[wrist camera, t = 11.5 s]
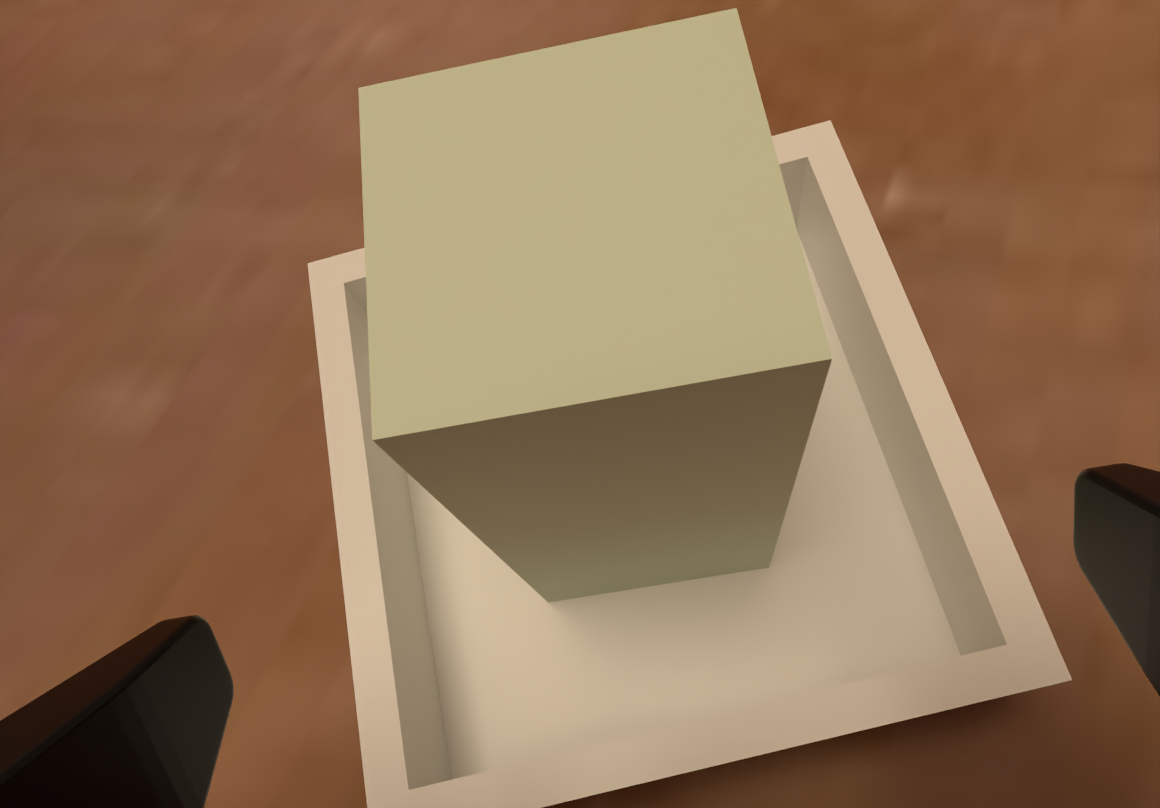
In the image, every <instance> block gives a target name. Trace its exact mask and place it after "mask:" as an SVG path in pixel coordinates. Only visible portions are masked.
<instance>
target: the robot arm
mask: <svg viewBox="0 0 1160 808" xmlns="http://www.w3.org/2000/svg"><path fill="white" fill-rule="evenodd" d="M1074 550H1075V554H1076V558H1077V561H1078V563H1079V566H1080V567H1081V569H1082V571H1083V573H1084V574H1085V576H1086V578H1087V579H1088V581H1089V583H1090V584H1091V586H1092V587H1093V589H1094V591H1095V592H1096V594H1097V596H1098V597H1099V599H1100V601H1101V602H1102V604H1103V606H1104V607H1105V609H1106V610H1107V612H1108V614H1109V615H1110V617H1111V619H1112V620H1113V622H1114V624H1115V625H1116V627H1117V629H1118V630H1119V632H1120V633H1121V635H1122V637H1123V638H1124V640H1125V642H1126V643H1127V645H1128V647H1129V648H1130V650H1131V651H1132V653H1133V655H1134V656H1135V658H1136V660H1137V661H1138V663H1139V665H1140V666H1141V668H1142V670H1143V671H1144V673H1145V674H1146V676H1147V678H1148V679H1149V681H1150V682H1151V684H1152V685H1153V687H1154V688H1155V690H1156V691H1157V693H1158V694H1159V696H1160V472H1159V471H1155V470H1151V469H1147V468H1143V467H1139V466H1135V465H1131V464H1125V463H1122V464H1113V465H1107V466H1101V467H1095V468H1089V469H1086V470H1083V471H1082V472H1081V473H1080V474H1079V475H1078V476H1077V479H1076V482H1075V492H1074ZM233 691H234V690H233V681H232V677H231V673H230V671H229V669H228V666H227V664H226V662H225V659H224V657H223V655H222V652H221V650H220V648H219V645H218V643H217V640H216V638H215V636H214V633H213V631H212V629H211V627H210V625H209V623H208V622H207V621H206V620H205V619H204V618H202V617H200V616H198V615H194V616H186V617H180V618H174V619H168V620H164V621H161V622H159V623H157V624H156V625H154V626H152V627H151V628H149V629H147V630H146V631H144V632H143V633H141V634H139V635H138V636H136V637H135V638H133V639H131V640H130V641H128V642H127V643H125V644H123V645H122V646H120V647H118V648H117V649H115V650H114V651H112V652H110V653H109V654H107V655H106V656H104V657H102V658H101V659H99V660H98V661H96V662H94V663H93V664H91V665H89V666H88V667H86V668H85V669H83V670H81V671H80V672H78V673H77V674H75V675H73V676H72V677H70V678H69V679H67V680H65V681H64V682H62V683H61V684H59V685H57V686H56V687H54V688H52V689H51V690H49V691H48V692H46V693H44V694H43V695H41V696H40V697H38V698H36V699H35V700H33V701H32V702H30V703H28V704H27V705H25V706H23V707H22V708H20V709H19V710H17V711H15V712H14V713H12V714H11V715H9V716H7V717H6V718H4V719H3V720H1V721H0V808H204V807H205V803H206V799H207V795H208V791H209V788H210V784H211V780H212V776H213V773H214V769H215V765H216V761H217V757H218V754H219V750H220V746H221V742H222V739H223V735H224V731H225V727H226V723H227V720H228V716H229V712H230V708H231V705H232V700H233Z"/></svg>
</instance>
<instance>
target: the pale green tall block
mask: <svg viewBox="0 0 1160 808" xmlns="http://www.w3.org/2000/svg"><path fill="white" fill-rule="evenodd" d="M359 114H360V140H361V166H362V191H363V217H364V243H365V269H366V295H367V321H368V347H369V373H370V398H371V424H372V441H374V442H375V443H376V444H377V445H378V446H379V447H380V448H381V449H382V450H383V451H384V452H385V453H387V454H388V455H389V456H390V457H391V458H392V459H393V460H394V461H395V462H396V463H397V464H398V465H400V466H401V467H402V468H403V469H404V470H405V471H406V472H407V473H408V474H409V475H410V476H411V477H413V478H414V479H415V480H416V481H417V482H418V483H419V484H420V485H421V486H422V487H423V488H424V489H426V490H427V491H428V492H429V493H430V494H431V495H432V496H433V497H434V498H435V499H436V500H438V501H439V502H440V503H441V504H442V505H443V506H444V507H445V508H446V509H447V510H448V511H449V512H451V513H452V514H453V515H454V516H455V517H456V518H457V519H458V520H459V521H460V522H461V523H462V524H464V525H465V526H466V527H467V528H468V529H469V530H470V531H471V532H472V533H473V534H474V535H475V536H477V537H478V538H479V539H480V540H481V541H482V542H483V543H484V544H485V545H486V546H487V547H488V548H490V549H491V550H492V551H493V552H494V553H495V554H496V555H497V556H498V557H499V558H500V559H501V560H503V561H504V562H505V563H506V564H507V565H508V566H509V567H510V568H511V569H512V570H513V571H514V572H516V573H517V574H518V575H519V576H520V577H521V578H522V579H523V580H524V581H525V582H526V583H527V584H529V585H530V586H531V587H532V588H533V589H534V590H535V591H536V592H537V593H538V594H539V595H540V596H542V597H543V598H544V599H545V600H546V601H547V602H555V601H561V600H567V599H573V598H580V597H586V596H592V595H599V594H605V593H611V592H618V591H624V590H630V589H636V588H643V587H649V586H655V585H662V584H668V583H674V582H681V581H687V580H693V579H700V578H706V577H712V576H718V575H725V574H731V573H737V572H744V571H750V570H756V569H763V568H769V566H770V563H771V560H772V556H773V553H774V550H775V547H776V543H777V540H778V537H779V533H780V530H781V527H782V523H783V520H784V517H785V513H786V510H787V507H788V503H789V500H790V497H791V493H792V490H793V487H794V483H795V480H796V477H797V474H798V470H799V467H800V464H801V460H802V457H803V454H804V450H805V447H806V444H807V440H808V437H809V434H810V430H811V427H812V424H813V420H814V417H815V414H816V410H817V407H818V404H819V401H820V397H821V394H822V391H823V387H824V384H825V381H826V377H827V374H828V371H829V367H830V364H831V361H832V357H831V353H830V349H829V346H828V342H827V338H826V335H825V331H824V327H823V324H822V320H821V316H820V313H819V309H818V305H817V302H816V298H815V294H814V291H813V287H812V283H811V280H810V276H809V272H808V269H807V265H806V261H805V258H804V254H803V250H802V247H801V243H800V239H799V236H798V232H797V228H796V224H795V221H794V217H793V213H792V210H791V206H790V202H789V199H788V195H787V191H786V188H785V184H784V180H783V177H782V173H781V169H780V166H779V162H778V158H777V155H776V151H775V147H774V144H773V140H772V136H771V133H770V129H769V125H768V122H767V118H766V114H765V111H764V107H763V103H762V100H761V96H760V92H759V89H758V85H757V81H756V78H755V74H754V70H753V67H752V63H751V59H750V56H749V52H748V48H747V45H746V41H745V37H744V34H743V30H742V26H741V23H740V19H739V15H738V12H737V8H734V9H730V10H725V11H720V12H715V13H711V14H706V15H701V16H697V17H692V18H687V19H682V20H678V21H673V22H668V23H663V24H659V25H654V26H649V27H644V28H640V29H635V30H630V31H626V32H621V33H616V34H611V35H607V36H602V37H597V38H592V39H588V40H583V41H578V42H573V43H569V44H564V45H559V46H555V47H550V48H545V49H540V50H536V51H531V52H526V53H521V54H517V55H512V56H507V57H502V58H498V59H493V60H488V61H484V62H479V63H474V64H469V65H465V66H460V67H455V68H450V69H446V70H441V71H436V72H431V73H427V74H422V75H417V76H413V77H408V78H403V79H398V80H394V81H389V82H384V83H379V84H375V85H370V86H365V87H360V88H359Z"/></svg>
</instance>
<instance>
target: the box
mask: <svg viewBox="0 0 1160 808" xmlns="http://www.w3.org/2000/svg"><path fill="white" fill-rule="evenodd" d="M772 140H773V144H774V147H775V151H776V155H777V158H778V162H779V166H780V169H781V173H782V177H783V180H784V184H785V188H786V191H787V195H788V199H789V202H790V206H791V210H792V213H793V217H794V221H795V224H796V228H797V232H798V236H799V239H800V243H801V247H802V250H803V254H804V258H805V261H806V265H807V269H808V272H809V276H810V280H811V283H812V287H813V291H814V294H815V298H816V302H817V305H818V309H819V313H820V316H821V320H822V324H823V327H824V331H825V335H826V338H827V342H828V346H829V349H830V353H831V357H832V361H831V364H830V367H829V371H828V374H827V377H826V381H825V384H824V387H823V391H822V394H821V397H820V401H819V404H818V407H817V410H816V414H815V417H814V420H813V424H812V427H811V430H810V434H809V437H808V440H807V444H806V447H805V450H804V454H803V457H802V460H801V464H800V467H799V470H798V474H797V477H796V480H795V483H794V487H793V490H792V493H791V497H790V500H789V503H788V507H787V510H786V513H785V517H784V520H783V523H782V527H781V530H780V533H779V537H778V540H777V543H776V547H775V550H774V553H773V556H772V560H771V563H770V566H769V568H763V569H756V570H750V571H744V572H737V573H731V574H725V575H718V576H712V577H706V578H700V579H693V580H687V581H681V582H674V583H668V584H662V585H655V586H649V587H643V588H636V589H630V590H624V591H618V592H611V593H605V594H599V595H592V596H586V597H580V598H573V599H567V600H561V601H555V602H547V601H546V600H545V599H544V598H543V597H542V596H540V595H539V594H538V593H537V592H536V591H535V590H534V589H533V588H532V587H531V586H530V585H529V584H527V583H526V582H525V581H524V580H523V579H522V578H521V577H520V576H519V575H518V574H517V573H516V572H514V571H513V570H512V569H511V568H510V567H509V566H508V565H507V564H506V563H505V562H504V561H503V560H501V559H500V558H499V557H498V556H497V555H496V554H495V553H494V552H493V551H492V550H491V549H490V548H488V547H487V546H486V545H485V544H484V543H483V542H482V541H481V540H480V539H479V538H478V537H477V536H475V535H474V534H473V533H472V532H471V531H470V530H469V529H468V528H467V527H466V526H465V525H464V524H462V523H461V522H460V521H459V520H458V519H457V518H456V517H455V516H454V515H453V514H452V513H451V512H449V511H448V510H447V509H446V508H445V507H444V506H443V505H442V504H441V503H440V502H439V501H438V500H436V499H435V498H434V497H433V496H432V495H431V494H430V493H429V492H428V491H427V490H426V489H424V488H423V487H422V486H421V485H420V484H419V483H418V482H417V481H416V480H415V479H414V478H413V477H411V476H410V475H409V474H408V473H407V472H406V471H405V470H404V469H403V468H402V467H401V466H400V465H398V464H397V463H396V462H395V461H394V460H393V459H392V458H391V457H390V456H389V455H388V454H387V453H385V452H384V451H383V450H382V449H381V448H380V447H379V446H378V445H377V444H376V443H375V442H374V441H372V424H371V398H370V373H369V347H368V321H367V295H366V269H365V248H362V249H358V250H355V251H351V252H348V253H344V254H340V255H337V256H333V257H329V258H326V259H322V260H318V261H315V262H311V263H308V271H309V281H310V290H311V299H312V308H313V317H314V326H315V335H316V344H317V353H318V363H319V372H320V381H321V390H322V399H323V408H324V417H325V426H326V435H327V445H328V454H329V463H330V472H331V481H332V490H333V499H334V508H335V517H336V527H337V536H338V545H339V554H340V563H341V572H342V581H343V590H344V600H345V609H346V618H347V627H348V636H349V645H350V654H351V663H352V672H353V682H354V691H355V700H356V709H357V718H358V727H359V736H360V745H361V754H362V764H363V773H364V782H365V791H366V800H367V808H542V807H546V806H550V805H554V804H558V803H563V802H567V801H571V800H575V799H579V798H583V797H588V796H592V795H596V794H600V793H604V792H608V791H613V790H617V789H621V788H625V787H629V786H633V785H637V784H642V783H646V782H650V781H654V780H658V779H662V778H667V777H671V776H675V775H679V774H683V773H687V772H692V771H696V770H700V769H704V768H708V767H712V766H716V765H721V764H725V763H729V762H733V761H737V760H741V759H746V758H750V757H754V756H758V755H762V754H766V753H771V752H775V751H779V750H783V749H787V748H791V747H795V746H800V745H804V744H808V743H812V742H816V741H820V740H825V739H829V738H833V737H837V736H841V735H845V734H850V733H854V732H858V731H862V730H866V729H870V728H875V727H879V726H883V725H887V724H891V723H895V722H899V721H904V720H908V719H912V718H916V717H920V716H924V715H929V714H933V713H937V712H941V711H945V710H949V709H954V708H958V707H962V706H966V705H970V704H974V703H978V702H983V701H987V700H991V699H995V698H999V697H1003V696H1008V695H1012V694H1016V693H1020V692H1024V691H1028V690H1033V689H1037V688H1041V687H1045V686H1049V685H1053V684H1057V683H1062V682H1066V681H1070V680H1072V679H1071V676H1070V674H1069V672H1068V669H1067V667H1066V665H1065V662H1064V660H1063V658H1062V655H1061V653H1060V651H1059V648H1058V646H1057V644H1056V642H1055V639H1054V637H1053V635H1052V632H1051V630H1050V628H1049V625H1048V623H1047V621H1046V618H1045V616H1044V614H1043V611H1042V609H1041V607H1040V604H1039V602H1038V600H1037V597H1036V595H1035V593H1034V591H1033V588H1032V586H1031V584H1030V581H1029V579H1028V577H1027V574H1026V572H1025V570H1024V567H1023V565H1022V563H1021V560H1020V558H1019V556H1018V553H1017V551H1016V549H1015V547H1014V544H1013V542H1012V540H1011V537H1010V535H1009V533H1008V530H1007V528H1006V526H1005V523H1004V521H1003V519H1002V516H1001V514H1000V512H999V509H998V507H997V505H996V503H995V500H994V498H993V496H992V493H991V491H990V489H989V486H988V484H987V482H986V479H985V477H984V475H983V472H982V470H981V468H980V465H979V463H978V461H977V459H976V456H975V454H974V452H973V449H972V447H971V445H970V442H969V440H968V438H967V435H966V433H965V431H964V428H963V426H962V424H961V421H960V419H959V417H958V415H957V412H956V410H955V408H954V405H953V403H952V401H951V398H950V396H949V394H948V391H947V389H946V387H945V384H944V382H943V380H942V377H941V375H940V373H939V371H938V368H937V366H936V364H935V361H934V359H933V357H932V354H931V352H930V350H929V347H928V345H927V343H926V340H925V338H924V336H923V333H922V331H921V329H920V327H919V324H918V322H917V320H916V317H915V315H914V313H913V310H912V308H911V306H910V303H909V301H908V299H907V296H906V294H905V292H904V289H903V287H902V285H901V283H900V280H899V278H898V276H897V273H896V271H895V269H894V266H893V264H892V262H891V259H890V257H889V255H888V252H887V250H886V248H885V245H884V243H883V241H882V239H881V236H880V234H879V232H878V229H877V227H876V225H875V222H874V220H873V218H872V215H871V213H870V211H869V208H868V206H867V204H866V201H865V199H864V197H863V195H862V192H861V190H860V188H859V185H858V183H857V181H856V178H855V176H854V174H853V171H852V169H851V167H850V164H849V162H848V160H847V157H846V155H845V153H844V151H843V148H842V146H841V144H840V141H839V139H838V137H837V134H836V132H835V130H834V127H833V125H832V123H831V120H830V121H826V122H822V123H819V124H815V125H811V126H808V127H804V128H800V129H797V130H793V131H789V132H786V133H782V134H778V135H775V136H772Z"/></svg>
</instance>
